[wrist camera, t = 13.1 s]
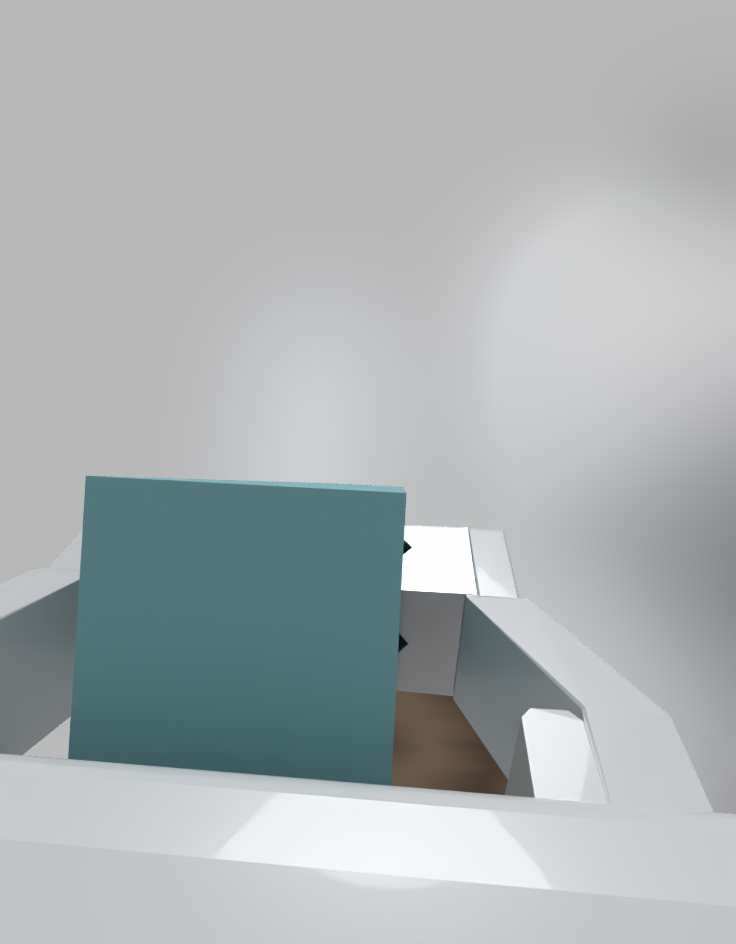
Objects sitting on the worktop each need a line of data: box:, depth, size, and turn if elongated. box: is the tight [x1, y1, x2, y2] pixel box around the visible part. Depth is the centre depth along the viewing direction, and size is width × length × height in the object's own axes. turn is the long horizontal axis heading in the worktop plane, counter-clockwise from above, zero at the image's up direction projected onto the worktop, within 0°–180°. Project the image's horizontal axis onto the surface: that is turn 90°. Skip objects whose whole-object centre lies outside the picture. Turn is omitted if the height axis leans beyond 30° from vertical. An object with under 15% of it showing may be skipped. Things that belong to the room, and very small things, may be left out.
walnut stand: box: [391, 691, 508, 795], centre depth 33 cm, size 16×12×26 cm
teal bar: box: [68, 476, 406, 786], centre depth 16 cm, size 3×21×3 cm, turn 177°
